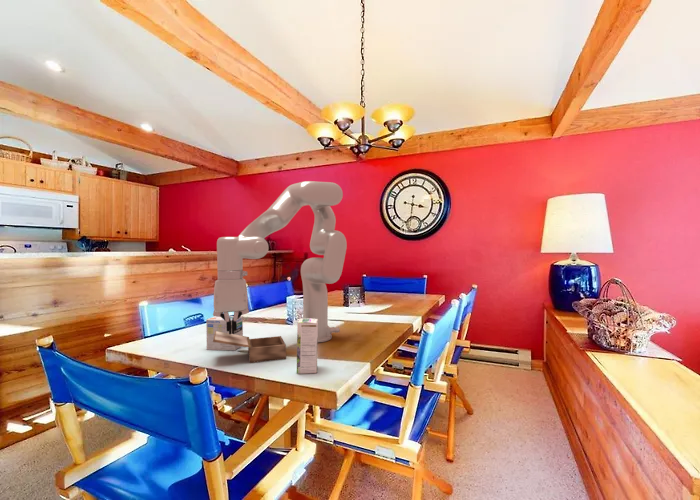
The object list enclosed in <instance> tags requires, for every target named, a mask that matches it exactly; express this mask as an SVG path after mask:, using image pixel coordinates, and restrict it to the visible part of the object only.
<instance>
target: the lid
mask: <svg viewBox="0 0 700 500" xmlns="http://www.w3.org/2000/svg"><path fill="white" fill-rule="evenodd" d="M250 339H251V338H250V337H249V336H246V335H243V336H240V335H235V334H229V333H223V332H217V331H215V334H214V339H213V342H217V343H223V344H230V345H236V346H241V347H242V348H247V349H248V348H250V347H251V345H250Z"/></svg>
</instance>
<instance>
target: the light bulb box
mask: <svg viewBox="0 0 700 500" xmlns="http://www.w3.org/2000/svg"><path fill="white" fill-rule="evenodd" d="M243 316H244V315H241V316H240V317H239V318H238V320H237V321H236V324H237V330H236V331H234V334H235V335H240V336H244V331H243V330H244V327H243V326H244V324H243V323H244V322H243V321H244V320H243V319H244V318H243ZM233 317H234V315H229V318H230V319H231V331H232V318H233ZM205 326H206V350H207V351H208V350H209V351H212V350H213V351H236V350H238V349H240V347H242V346H236V345H230V344H223V343H217V342H213V339H214V334H215V331H217V332H223V333H229V331H227V324H226V321H225V320H224V319H223V318H221V317H217V316H212V317H209V318H207V319H206V325H205ZM231 334H232V332H231Z"/></svg>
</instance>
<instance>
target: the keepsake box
mask: <svg viewBox="0 0 700 500" xmlns="http://www.w3.org/2000/svg"><path fill="white" fill-rule="evenodd" d="M249 339H250V345H251V347H250V348H248V347H247V352H248V353H247V354H248V360H249V364H254V363H263V362H271V361H279V360H281V361H282V360H287V345H286V343H285V340H284V339H283V337H282V336H281V335H279V336H268V337H257V338H249Z"/></svg>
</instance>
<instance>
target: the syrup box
mask: <svg viewBox="0 0 700 500" xmlns="http://www.w3.org/2000/svg"><path fill="white" fill-rule="evenodd" d="M296 327H297V328H296V329H297V333H296V335H297V336H296V337H297V338H296V339H297V341H296V374H297V375H298V374H300V375H301V374H302V375H303V374H316V373H317V372H318V348H319V347H318V343H319V342H318V319H313V318H303V317H302V318H299V320H298V322H297V326H296Z"/></svg>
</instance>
